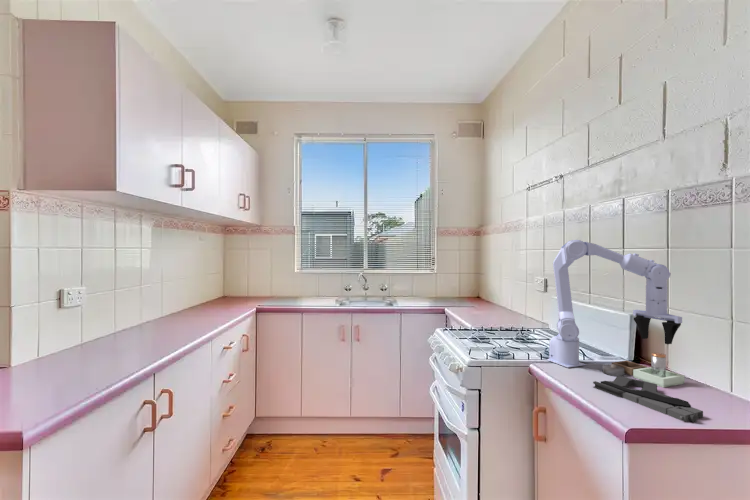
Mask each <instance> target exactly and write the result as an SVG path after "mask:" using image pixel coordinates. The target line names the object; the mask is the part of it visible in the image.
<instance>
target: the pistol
mask: <svg viewBox="0 0 750 500" xmlns="http://www.w3.org/2000/svg"><path fill="white" fill-rule="evenodd" d="M592 384H593V385H594V386H592V388H593V389H596V390H598V391H601V392H604V393H606V394H609V395H612V396H615V397H617V398H620V399H621V398H622V399H625V400H627V401H630V402H632V403H635V404H639V405H640V406H642V407H644V408H645V407H646V408H648V409H651V410H653V411H655V412H657V413H658V412H659V413H661V414H664V415H667V416H669V417H672V418H674V419H676V420H680V421H682V422H684V423H686V422H687V423H688V422H692V423H696V422H697V420H698V419H702V418H704V411H703V410H700V409H698V408H696V407H693V406H692V405H691V404H690V402H689V401H686V400H683V399H681V398H678V397H672V396H669V395H668V394H664V393H660V392H658V386H657V385H656V384H654V383H650V382H645V381H642V380H639V379H636V378H631V377H628V376H627V377H626V376H615V378H614V379H613V380H603V381H599V382H598V381H596V380H595V381H592ZM629 387H637V388H640V389H635V388H634V389H633V388H632V389H631V388H629Z"/></svg>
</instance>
